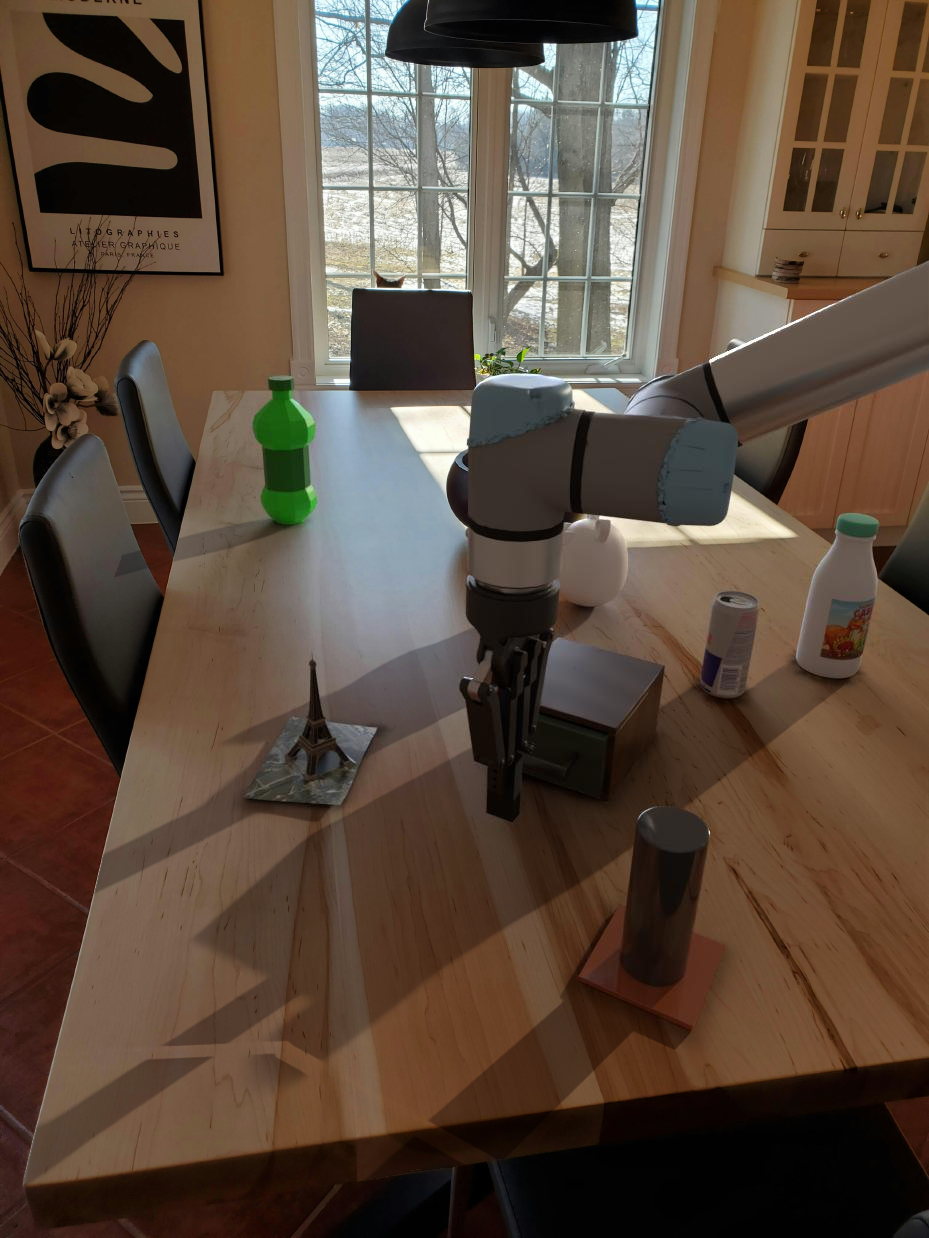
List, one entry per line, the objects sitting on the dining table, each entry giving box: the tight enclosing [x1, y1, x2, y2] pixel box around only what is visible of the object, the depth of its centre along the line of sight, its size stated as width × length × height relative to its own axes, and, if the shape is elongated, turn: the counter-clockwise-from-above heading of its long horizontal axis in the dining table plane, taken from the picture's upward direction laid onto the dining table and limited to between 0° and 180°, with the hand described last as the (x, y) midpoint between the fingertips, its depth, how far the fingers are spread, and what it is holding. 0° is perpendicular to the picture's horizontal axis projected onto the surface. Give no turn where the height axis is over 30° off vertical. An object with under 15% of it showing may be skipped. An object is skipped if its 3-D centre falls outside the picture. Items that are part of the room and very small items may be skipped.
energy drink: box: [699, 590, 761, 699], centre depth 107 cm, size 5×5×12 cm
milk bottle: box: [795, 512, 880, 679], centre depth 111 cm, size 8×8×20 cm
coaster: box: [577, 903, 727, 1032], centre depth 71 cm, size 9×9×1 cm
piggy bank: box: [557, 514, 629, 607], centre depth 128 cm, size 12×12×15 cm
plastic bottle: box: [252, 374, 318, 525], centre depth 156 cm, size 10×10×25 cm
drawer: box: [522, 712, 609, 799], centre depth 93 cm, size 18×11×7 cm, turn 150°
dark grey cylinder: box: [620, 805, 711, 986], centre depth 68 cm, size 5×5×13 cm
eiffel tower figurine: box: [242, 654, 378, 806], centre depth 91 cm, size 15×10×13 cm
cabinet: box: [539, 637, 666, 802], centre depth 96 cm, size 15×13×9 cm
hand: (502, 813), depth 82 cm, fingers closed
